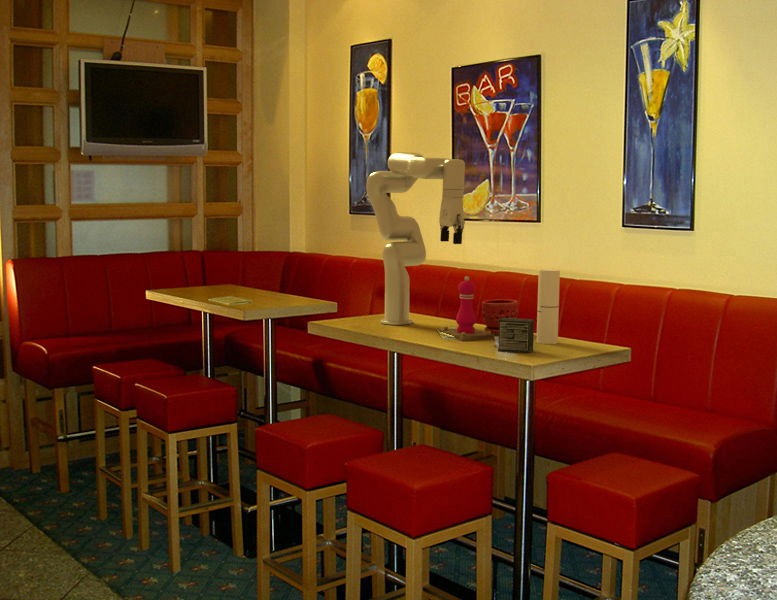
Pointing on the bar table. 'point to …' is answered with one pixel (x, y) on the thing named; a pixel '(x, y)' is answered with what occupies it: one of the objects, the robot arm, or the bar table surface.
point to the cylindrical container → (548, 306)
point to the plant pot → (498, 313)
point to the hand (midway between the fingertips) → (450, 242)
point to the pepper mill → (466, 307)
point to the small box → (516, 335)
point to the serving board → (469, 334)
